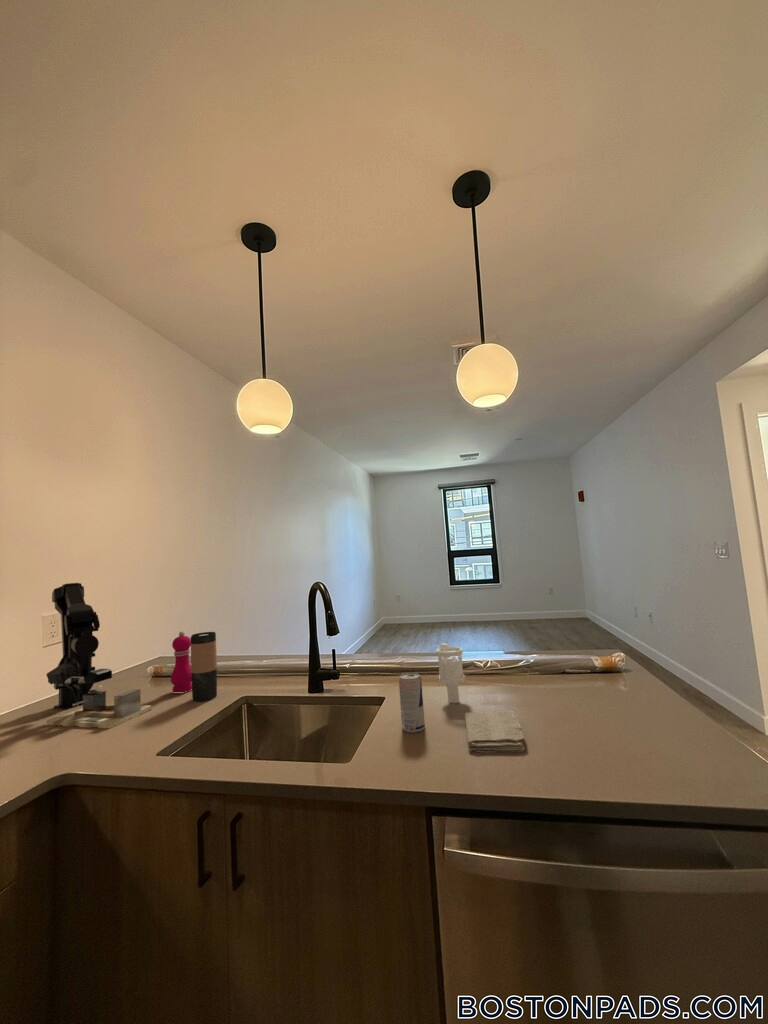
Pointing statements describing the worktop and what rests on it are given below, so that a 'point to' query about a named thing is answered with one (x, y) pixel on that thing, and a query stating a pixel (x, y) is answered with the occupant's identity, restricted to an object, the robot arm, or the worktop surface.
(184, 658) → the pepper mill
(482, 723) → the washcloth
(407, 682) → the energy drink
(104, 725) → the gauge board
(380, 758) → the worktop surface
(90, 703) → the gauge slider
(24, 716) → the worktop surface
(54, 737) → the worktop surface
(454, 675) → the white stepped column
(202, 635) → the travel mug
